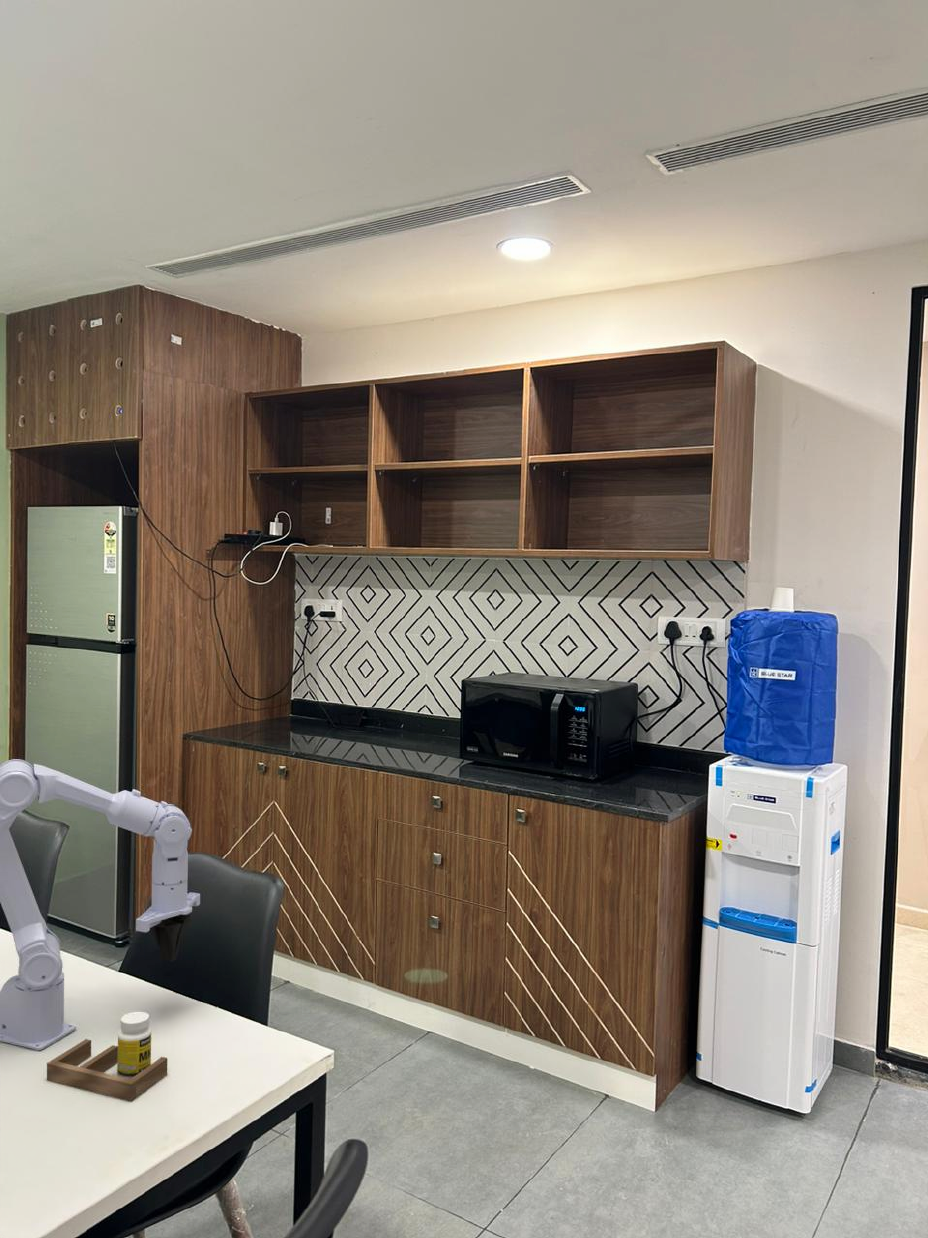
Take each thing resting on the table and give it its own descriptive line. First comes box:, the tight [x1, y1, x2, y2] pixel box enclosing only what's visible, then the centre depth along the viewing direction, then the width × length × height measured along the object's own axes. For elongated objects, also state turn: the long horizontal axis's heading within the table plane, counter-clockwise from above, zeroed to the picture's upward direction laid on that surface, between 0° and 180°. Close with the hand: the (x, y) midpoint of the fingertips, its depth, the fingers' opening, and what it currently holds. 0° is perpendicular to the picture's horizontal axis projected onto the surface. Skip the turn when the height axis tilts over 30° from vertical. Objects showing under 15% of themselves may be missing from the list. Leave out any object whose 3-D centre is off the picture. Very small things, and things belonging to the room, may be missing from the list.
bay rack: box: [46, 1038, 168, 1103], centre depth 140 cm, size 15×8×2 cm, turn 70°
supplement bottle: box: [116, 1011, 152, 1079], centre depth 142 cm, size 5×5×8 cm
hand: (168, 960), depth 160 cm, fingers closed
